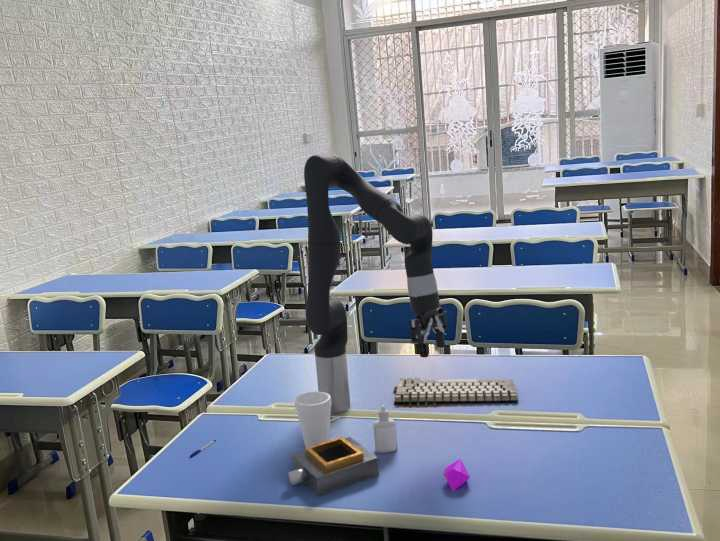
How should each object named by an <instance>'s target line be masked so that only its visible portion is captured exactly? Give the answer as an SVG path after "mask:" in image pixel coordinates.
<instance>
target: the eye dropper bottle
mask: <svg viewBox="0 0 720 541" xmlns="http://www.w3.org/2000/svg"><path fill="white" fill-rule="evenodd" d="M389 416H390V415H389V410H388V409H386V408H385V405H381V408H380V409H379V410H378V419H376V420H375V421H374V422H373V424H372V425H373V438H374V439H373V440H374V449H375V452H376V453H378V454H387V453H393V452H395V451H397V450H398V437H397V436H398V435H397V425H396V421H395V420H394V419H393V418H389Z"/></svg>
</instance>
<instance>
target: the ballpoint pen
mask: <svg viewBox="0 0 720 541" xmlns="http://www.w3.org/2000/svg"><path fill="white" fill-rule="evenodd" d="M215 442H217V441H216V439H213V440H211V441H210V442H208V443H207V444H205V446H203V447H201V448H200V449H196V450H195V451H193V452H192V453H191V454H190V455H189V458H190V459H192V458H193V457H196V456H197V455H198V454H200V453H201V452H202V451H204V450H205V449H207V448H209V446H211V445H212V444H214V443H215Z"/></svg>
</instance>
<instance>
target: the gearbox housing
mask: <svg viewBox="0 0 720 541" xmlns="http://www.w3.org/2000/svg"><path fill="white" fill-rule="evenodd" d="M291 457H292V466H293V467H292V469H293V470H292V471H289V472H288V473H287V474H288V475H287V477H288V481H289V483H290V485H291V486H295V485H297V484H301V483H304V484H305V485H306V486H307V487H308V488H309V489H310V490H311V491H312V493H314V495H316V496H317V497H318V498H319V497H322V496H324V495H327V494H330V493H332V492H336V491H339V490H341V489H345V488H347V487H350V486H352V485H355V484H358V483H361V482H365V481H367V480H370V479H372V478H375V477H379V476H380V469H379V468H380V467H379V457H378V456H376V455H375V454H374V453H373V452H371V451H370V450H369V449H368V448H365V446H363V445H362V444H360V443H359V442H358V441H357V440H355V439H354V438H352V437H351V436H348V437H345V438H344V437H343V436H339V437H337V438H333V439H329V441H326V442H323V443H320V444H316V445H313V446H310V447H307V448H306V447H305V449H304V450H302V451H300V452H297V453H294V454H292V455H291Z"/></svg>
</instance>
